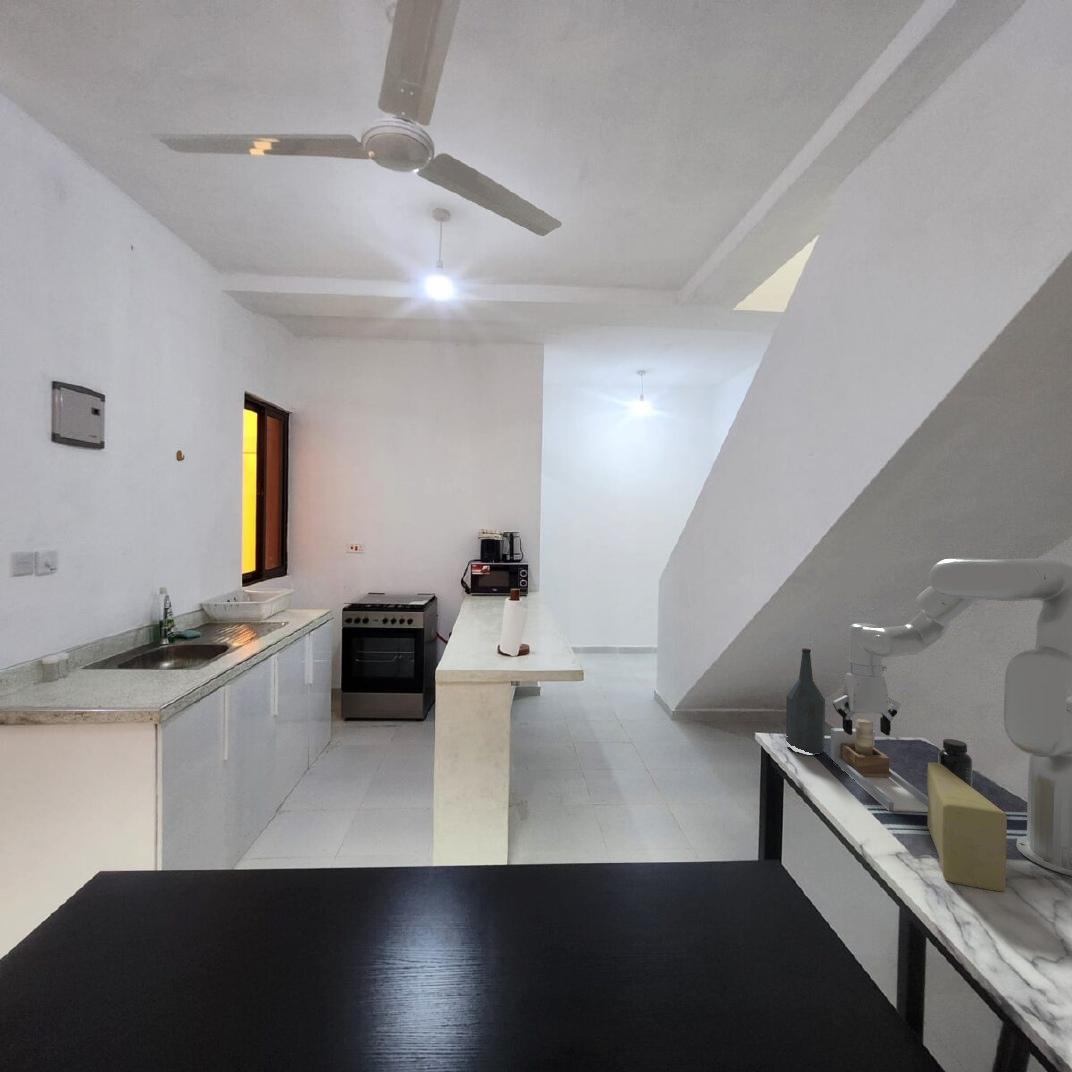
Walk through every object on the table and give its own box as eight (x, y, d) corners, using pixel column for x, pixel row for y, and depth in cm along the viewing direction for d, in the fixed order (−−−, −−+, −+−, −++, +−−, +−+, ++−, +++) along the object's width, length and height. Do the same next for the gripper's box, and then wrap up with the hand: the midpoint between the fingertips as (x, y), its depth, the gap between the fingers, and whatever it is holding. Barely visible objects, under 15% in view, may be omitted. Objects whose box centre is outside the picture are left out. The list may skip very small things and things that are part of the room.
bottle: (830, 756, 156) (832, 652, 156) (796, 756, 156) (797, 652, 156) (813, 742, 167) (814, 645, 166) (780, 742, 167) (782, 644, 166)
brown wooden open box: (889, 776, 142) (889, 758, 142) (857, 775, 143) (857, 757, 142) (869, 762, 151) (870, 744, 151) (840, 761, 152) (840, 743, 151)
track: (937, 812, 126) (938, 773, 126) (888, 810, 126) (889, 772, 126) (870, 760, 154) (870, 729, 154) (830, 759, 154) (830, 728, 154)
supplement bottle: (959, 783, 140) (960, 737, 140) (978, 796, 133) (979, 748, 133) (931, 782, 141) (932, 736, 141) (948, 795, 134) (949, 747, 134)
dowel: (875, 769, 145) (876, 724, 145) (860, 768, 145) (860, 724, 145) (867, 762, 149) (867, 719, 149) (852, 762, 149) (852, 718, 149)
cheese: (905, 822, 122) (906, 755, 121) (957, 830, 119) (958, 762, 118) (943, 882, 101) (944, 802, 101) (1007, 894, 98) (1009, 812, 97)
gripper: (890, 667, 150) (891, 729, 150) (826, 666, 151) (826, 728, 150) (907, 673, 142) (908, 739, 142) (839, 672, 143) (840, 738, 143)
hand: (866, 733), depth 146 cm, fingers open, 9 cm apart
